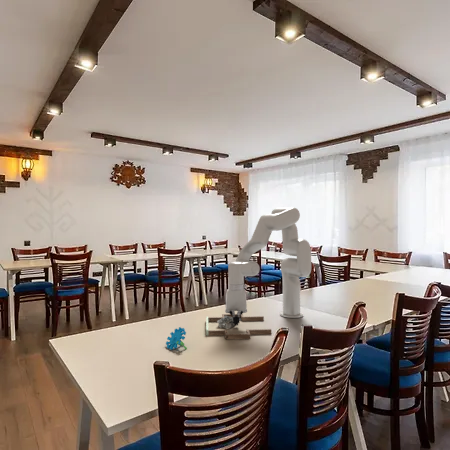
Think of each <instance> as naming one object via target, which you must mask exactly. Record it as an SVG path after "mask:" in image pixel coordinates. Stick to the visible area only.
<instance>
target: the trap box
mask: <svg viewBox="0 0 450 450" xmlns="http://www.w3.org/2000/svg"><path fill="white" fill-rule="evenodd" d="M243 314H244V313H242V315H241V316H240V317H239V318H241V322H256V321H257V322H258V321H259V322H262V321H263V322H264V321H265V318H264V316H263V315H261V316H260V315H259V316H254V315H253V316H244V315H243ZM235 315H236V316H237V313H235ZM225 316H228V317H229V316H230V317H232V318H233V316H232V315H231V314H230V313H222V314H221V316H220V317H219V316H215V317H214V316H213V317H211V316H210V317H209V316H207V317H208V323H213V322H217V321H218V320H220V319H221V318H224V317H225ZM245 331H246V333H228V329H219V330H218V329H216V330H213V329H211V330H210V329H208V337H209V336H224V337H225V338H224V339H225V340H246V339H247V340H249V339H250V340H251V335H272V328H260V329H259V328H258V329H257V328H256V329H246V330H245Z"/></svg>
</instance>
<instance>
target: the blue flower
mask: <svg viewBox="0 0 450 450" xmlns="http://www.w3.org/2000/svg"><path fill="white" fill-rule="evenodd" d="M186 334H187V332H186V330H185V328H184V327H181V326H180V327H178V328H174V331H171V332H170V333H169V335H171V336H168V337H167V338H166V339H167V341H165V346H166V348H167V349H168V350H171V351H172V350H173V349H177V348H178V346H180V348H184V350H187V349H188V347H187V346H185V343H184V342H183V341H184V340H185V339H186V337H185V336H186Z"/></svg>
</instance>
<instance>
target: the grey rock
mask: <svg viewBox="0 0 450 450" xmlns="http://www.w3.org/2000/svg"><path fill="white" fill-rule="evenodd" d="M217 325H218V328H220V329H222V328H225V330H228V329H232V327H234V326H235V324H234V323H233V318H232V317H230V316H229V317H228V316H225V317H224V318H221V319H220V320H218V321H217Z"/></svg>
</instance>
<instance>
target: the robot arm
mask: <svg viewBox="0 0 450 450" xmlns="http://www.w3.org/2000/svg"><path fill="white" fill-rule="evenodd" d="M300 217H301V214H300V210H298V208H296V207H293V206H291V207H290V206H289V207H288V206H287V207H276V208H274V209H272V211H271V213H268V214H263V215H260V218H259V219H258V221H257V224H256V226H255V229H254V231H253V234H252V235H251V239H250V240H249V241H248V242H247V243H246V244H245V245H244V246H243V247H242V248H241V249H240V251H239V252H238V255H237V257H236V259H235V261H231V262H229V263H228V264H227V266H228V267H227V268H228V271H227V272H228V273H227V274H228V278H227V279H228V289H227V290H226V291H225V292H226V293H225V310H224V311H225V314H231V315H232V316H233V323H234V326H239V324H240V321H239V317H240V316H241V315H242V314H245V313H247V312H248V309H247V307H248V306H247V305H248V303H247V295H246V293H247V292H246V289H245V288H247V287H248V286H247V284H245V277H255V276H257V275H258V274H259V273H260V269H261V268H260V265H259V264H258V263H257V262H256V261H254V260H250V259H251V257H252V256H253V255H254V254H255V253H256V252H258V251H260V250H262V249H264V248H266V246H267V244H268V242H269V240H270V238H271V235H272V232H273V231H276V232H277V231H281V235H282V236H281V237H282V238H281V239H282V251H283V254H285V255H287V256H290V257H287V258H284V259H283V260H282V261H281V264H280V271H281V276H282V310H281V311H280V312H279V315H280V316H281V317H283V318H288V319H298V318H303V316H304V313H303V312H302V311H301V280H300V278H307V277H309V276H310V274H311V272H312V249H311V244H310V243H309V241H308V240H306V239H304V238H299V234H298V227H297V224H296V223H297V222H298V221H299V220H300ZM295 257H296V258H295ZM236 312H237V313H236ZM235 314H237V316H236V315H235Z"/></svg>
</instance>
